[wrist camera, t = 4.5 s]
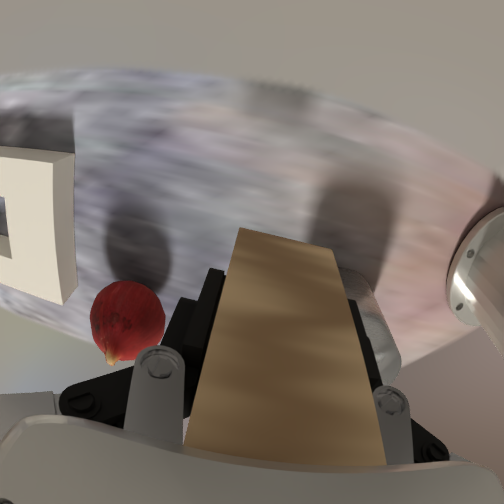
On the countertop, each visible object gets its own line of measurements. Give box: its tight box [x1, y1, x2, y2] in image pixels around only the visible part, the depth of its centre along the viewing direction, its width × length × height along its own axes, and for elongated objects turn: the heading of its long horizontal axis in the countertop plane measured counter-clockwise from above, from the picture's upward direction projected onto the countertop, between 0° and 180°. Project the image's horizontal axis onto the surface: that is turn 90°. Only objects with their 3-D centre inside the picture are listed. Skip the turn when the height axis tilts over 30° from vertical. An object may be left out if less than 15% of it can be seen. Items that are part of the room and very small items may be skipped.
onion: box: [90, 281, 165, 366], centre depth 22 cm, size 6×6×8 cm
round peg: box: [338, 268, 401, 386], centre depth 22 cm, size 7×7×8 cm
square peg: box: [183, 227, 387, 466], centre depth 10 cm, size 4×4×10 cm
